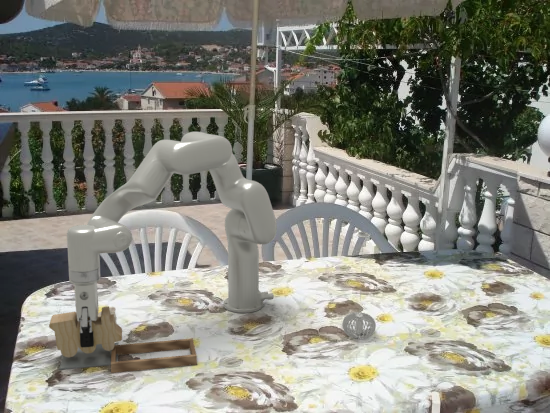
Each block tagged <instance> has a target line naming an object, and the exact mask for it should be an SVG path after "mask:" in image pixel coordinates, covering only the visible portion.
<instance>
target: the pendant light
mask: <svg viewBox="0 0 550 413" xmlns="http://www.w3.org/2000/svg"><path fill="white" fill-rule="evenodd" d="M356 236H357V237H358V238H360V239H367V238H370V236H371V234H369V232H368V231H358V233H356ZM361 246H362V247H361V250H362V251H361V255H363V251H364V250H363V248H364V245H361ZM360 269H361V272H360V277H362V271H363V267H361V268H360ZM361 290H362V289H360V294H359V297H360V298H359V300H361V297H362V296H361V294H362V291H361ZM376 326H377V325H376V321H375V320H374V318H373V317H372V316H371V315H370V314H368V313H365V312H361V311H359V312H351V313H348V314H347V315H346V316H345V317H344V318H343V320H342V330H343V332H344V333H345V334H346V335H347V336H348V337H350V338H352V339H361V340H363V339H364V340H365V339H369V338H371V336H373V334H374V333H375V331H376ZM365 328H366V329H365ZM357 334H359V335H357ZM361 334H362V335H361Z"/></svg>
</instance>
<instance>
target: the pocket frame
mask: <svg viewBox="0 0 550 413" xmlns="http://www.w3.org/2000/svg"><path fill="white" fill-rule="evenodd" d="M187 349H189V353H190V354H184V355H183V354H182V355H174V356H163V357H162V356H161V357H151V358H143V359H142V358H139V359H129V360H118V362H116V354H118V356H121V355H124V356H125V355H132V354H144V353H154V352H155V353H156V352H166V351H167V352H168V351H176V350H177V351H178V350H187ZM197 357H198V355H197V351H196V347H195V343H194V339H193V338H191V337H190V338H181V339H172V340H171V339H170V340H169V339H168V340H158V341H147V342H145V341H144V342H136V343H126V344H119V345H114V348H113V350H112V354H111V365H110V372H111V374H112V373H113V374H114V373H115V374H116V373H124V372H125V373H127V372H133V371H135V372H136V371H145V370H156V369H165V368H176V367H177V368H178V367H188V366H197V365H198V358H197Z"/></svg>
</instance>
